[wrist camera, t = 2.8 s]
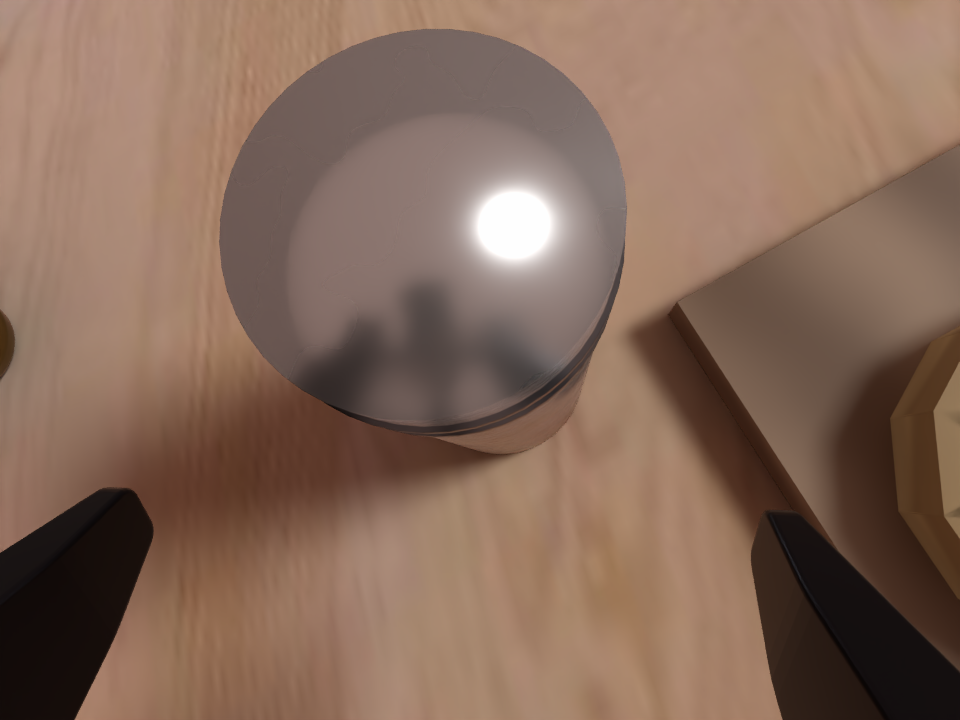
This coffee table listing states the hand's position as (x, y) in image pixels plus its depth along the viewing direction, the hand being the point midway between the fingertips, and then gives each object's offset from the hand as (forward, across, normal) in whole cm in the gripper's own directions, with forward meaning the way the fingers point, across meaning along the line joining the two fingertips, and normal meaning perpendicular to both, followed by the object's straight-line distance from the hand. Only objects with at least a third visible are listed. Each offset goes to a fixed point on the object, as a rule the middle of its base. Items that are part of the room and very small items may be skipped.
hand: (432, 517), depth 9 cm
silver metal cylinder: (+10, 0, +5) cm, 11 cm away
